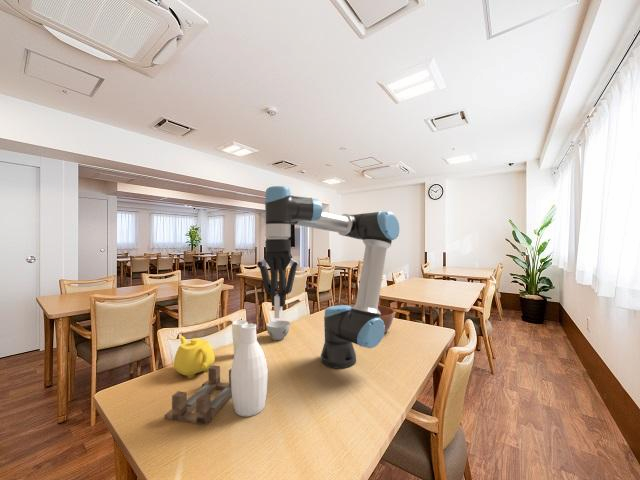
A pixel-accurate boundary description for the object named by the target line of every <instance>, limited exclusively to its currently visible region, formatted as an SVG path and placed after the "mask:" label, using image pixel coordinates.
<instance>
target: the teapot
mask: <svg viewBox="0 0 640 480" xmlns="http://www.w3.org/2000/svg"><path fill="white" fill-rule="evenodd" d="M179 339H180V343H181V344H180V345H179V347H178V348H177V351H176V353H175V355H174V359H173V367H174V370H176V372H178V373H179V374H180V375H183V376H187V377H186V378H187V379H193V378H195V376H196V374H199V373H201V372H203V373H208V368H209V367H211V366H212V365H213V364H214V363H215V361H216V360H215V359H216V358H215V352H214V349H213V347H212V345H211V343H210V341H208V340H206V339H204V338H203V339H202V338H197V337H194V338H192V339H190V341H187V339H186V338H185V337H184V336H183V335H179Z"/></svg>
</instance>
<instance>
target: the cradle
mask: <svg viewBox="0 0 640 480" xmlns="http://www.w3.org/2000/svg"><path fill="white" fill-rule="evenodd" d="M207 373H208V378H207V379H208V380H205V381H204V382H203V383H201V386H202V387H200V389H198V390H197V391H196V392H194V393H193V394H192V395H191V396H190V397H189V398H188V397H187V396H188V392H186V391H181V390H179V391H178V390H177V391H176V392H175V393H173V394H172V395H171V409H170V410H168V411H167V412H166V413H165V414H164V419H166V420H172V421H176V422H177V421H178V422H184V423H190V424H196V425H202V426H203V425H204V426H208V425H209V424H210V423H211V422H212V421H213V418H214V417H215V416H216V415H217V414H218V412H219V411H220V410H222V409H223V408H224V406H225V405H226V404H228V402H229V401H230V400H231V399H232V390H231V368H230V369H228V382H222V381H221V366H220V365H212V366H211V367H209V368H208V371H207ZM216 390H220V393H218V395H217V396H215V397H214V398H213V399H212V396H211V394H213V393H214V392H215V391H216ZM194 410H195V411H196V412H193V411H194Z"/></svg>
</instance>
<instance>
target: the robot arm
mask: <svg viewBox="0 0 640 480" xmlns="http://www.w3.org/2000/svg"><path fill="white" fill-rule="evenodd" d="M291 193H292V191H291V189H290V188H289V187H287V186H281V185H274V186H269V187H267V188H266V189H265V197H264V205H265V207H264V209H265V211H264V212H265V214H264V215H265V216H264V217H265V235H264V236H265V238H267V239H266V240H265V247H264V248H265V254H264V257H263V259H262V260H259V261H257V263H256V265H257V266H258V268H259V270H260V275H261V279H262V283H263V287H264V291H265V294H269V295H271V306H272V307H274V313H273V314H274V315H273V316H274V319H281V317H283V307H285V306H286V295H288V294H290V293H291V292H292V290H293V285H294V281H295V277H296V271H297V269H298V267H299V266H300V261H296V260H295V259H293V256H292V254H291V252H292V251H291V250H292V249H291V248H292V247H291V245H292V244H291V242H292V241H291V239H289V238H291V236H292V235H291V233H292V232H291V231H292V230H291V226H292V225H295V226H301V227H306V228H312V229H316V230H322V231H323V230H324V231H329V232H334V233H338V235H340V236H343V237H349V238H352V239H357V240H361V241H362V243H363V244H364V246H365V248H364V253H363V258H362V259H363V261H362V266H361V271H360V279H359V282H358V283H359V284H358V290H357V296H356V302H355V304H354V305H347V304H341V305H340V304H339V305H331V306H328V307H326V309H325V310H324V316H323V319H324V320H323V321H324V326H323V327H324V344H323V346H322V350H321V354H320V361H321V363H322V364H323V365H324V366H326V367H329V368H334V369H345V368H349V367H352V366H353V365H355V364H356V363H357V354H356V351H355V347H354V345H358V347H363V348H366V349H373V348H375V347H377V346H378V345H379V344H380V343H381V341H383V339H384V337H385V333H386V332H385V325H384V322H383V320H381V319H380V315H381V313H380V311H379V310H378V305H379V302H380V294H381V289H382V283H383V282H382V281H383V275H384V268H385V262H386V256H387V255H386V254H387V250H388V249H389V248H390V247H391V246H392V241H394V240H396V239H397V238H398V237H399V235H400V223H399V220H398V218H397V216H396V215H395V214H394V213H393V212H391V211H388V210H387V211H386V210H385V211H382V210H381V211H377V212H367V213H366V212H364V213H358V214H348V213H343V214H338V213H333V212H330V211H325V210H323V207H324V206H323V204H322V201H321V200H319V199H317V198H312V197H307V196H306V197H305V196H294V195H292V194H291ZM267 266H268V267H269V269H270V270H268V267H267ZM288 266H290V268H289V272H288V277H287V278H286V275H287V274H286V272H287V268H288ZM269 272H270V275H269ZM384 332H385V333H384Z"/></svg>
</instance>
